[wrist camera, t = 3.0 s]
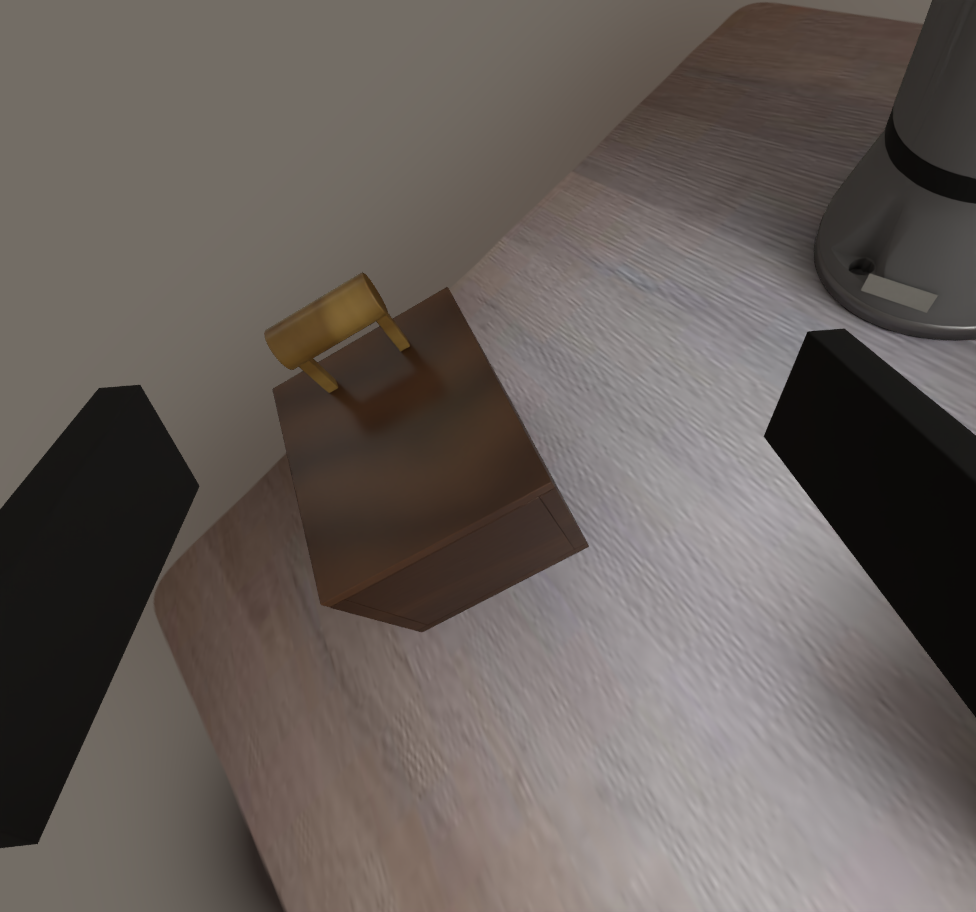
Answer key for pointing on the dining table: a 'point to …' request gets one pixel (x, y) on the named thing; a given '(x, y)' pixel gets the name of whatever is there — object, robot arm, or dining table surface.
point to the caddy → (474, 564)
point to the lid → (394, 434)
